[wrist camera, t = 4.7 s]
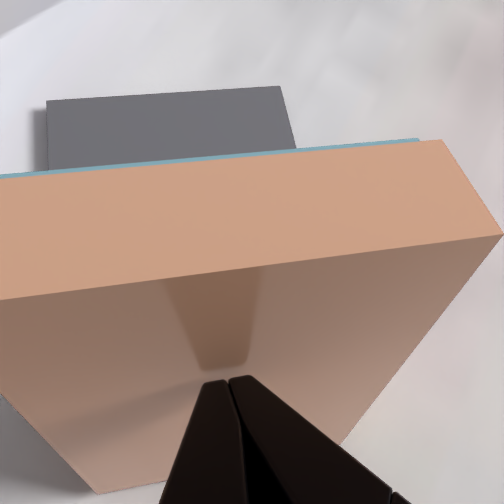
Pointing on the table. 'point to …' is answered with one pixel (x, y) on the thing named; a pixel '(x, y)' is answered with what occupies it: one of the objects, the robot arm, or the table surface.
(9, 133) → the table surface
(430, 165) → the tile
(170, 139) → the mat
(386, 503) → the robot arm
